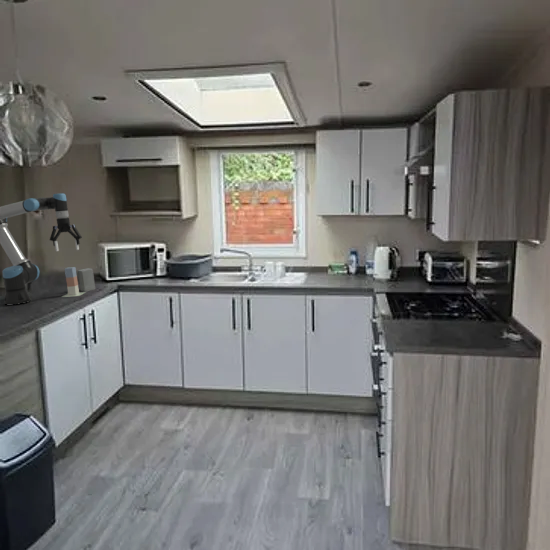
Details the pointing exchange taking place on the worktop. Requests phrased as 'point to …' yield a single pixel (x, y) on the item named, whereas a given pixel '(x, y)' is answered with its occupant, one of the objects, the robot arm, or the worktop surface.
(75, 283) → the brick
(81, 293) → the baseplate
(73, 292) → the brick
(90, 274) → the skincare box
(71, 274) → the brick
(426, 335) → the worktop surface
